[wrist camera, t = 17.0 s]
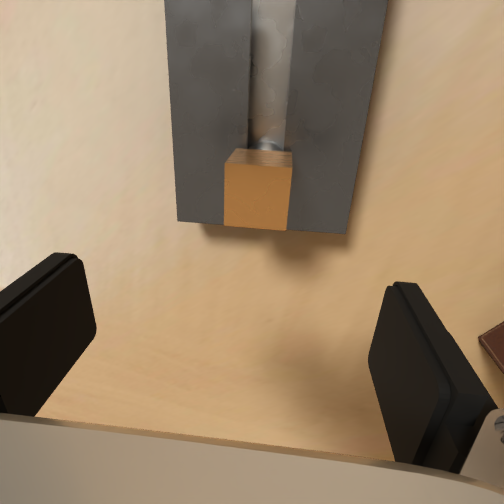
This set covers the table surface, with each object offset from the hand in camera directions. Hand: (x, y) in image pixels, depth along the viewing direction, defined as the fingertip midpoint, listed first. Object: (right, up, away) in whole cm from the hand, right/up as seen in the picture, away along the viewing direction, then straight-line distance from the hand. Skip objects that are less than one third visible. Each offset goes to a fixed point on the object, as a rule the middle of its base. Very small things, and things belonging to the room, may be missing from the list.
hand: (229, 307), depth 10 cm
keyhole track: (+2, +16, +16) cm, 23 cm away
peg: (+2, +9, +19) cm, 21 cm away
